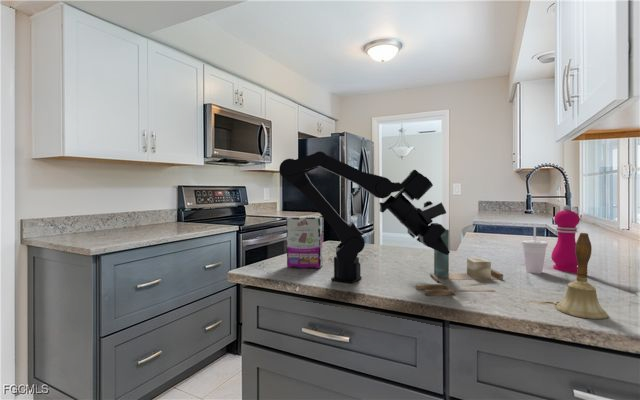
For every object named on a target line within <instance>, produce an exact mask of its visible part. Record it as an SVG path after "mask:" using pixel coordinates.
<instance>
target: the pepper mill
mask: <svg viewBox="0 0 640 400" xmlns="http://www.w3.org/2000/svg"><path fill="white" fill-rule="evenodd" d="M562 209H563V210H559V211H558V212H556V213H555V215H554V217H553V218H554V219H553V220H554V223H555V224H556V225H557V226H555V227H556V230H555V231H556V232H557V240H556V243H555V246H554V248H553V250H552V251H551V257H550V258H551V260H552V261H553V263H554V264H553V265H552V268H553V270H556V271H559V272H560V271H561V272H565V273H566V272H568V273H571V274H575V275H577V269H578V262H577V258H576V254H575V246H576V242H577V241H576V233H578V230H577V229H578V227H577V226H578V224H580V216H579V214H578V213H576V212H575V211H573V210H571V206H570V205H569V204H566V205H564V206H563V207H562Z"/></svg>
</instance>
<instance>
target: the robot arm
mask: <svg viewBox="0 0 640 400" xmlns="http://www.w3.org/2000/svg"><path fill="white" fill-rule="evenodd" d="M317 168H318V169H319V168H322V169H323V170H326V171H328V172H331V173H333V174H335V175H337V176H338V177H339V176H340V177H341V178H344V179H346V180H348V181H350V182H352V183H354V184H356V185H358V186H359V187H360V188H361V189H363V190H364V191H365V192H367V193H368V194H370V195H371V196H373V197H374V198H377V199H386V198H387V199H386V200H385V201H384V202H378V205H379V212H380V213H385V211H387V210H388V211H389V212H390V213H391V214H392V215H393V216H394V217H395V218H396V219H397V220H398V222H399V223H401V225H403V226H404V227H405V228H406V229H407V234H408V235H409V236H410V237H412V238H413V239H415V238H416V241H417V242H419V243H421V244H423V245H424V246H425V247H427V248H429V249H433V250H434V249H435V250H437V251H439V252H441V253H444V254H446V255H448V254H449V255H450V253H451V252H450V249H449V250H448V248H447V246H446V245H445V243H444V242H443V240H442V238H441V235H442V234H443V233H444V232H445V231H446V229H447V228H445V227H444V226H443V225H442V224H441V223H438V222H434V221H433V219H435V218H437V217H440V216H442V215H443V216H444V215H445V214H447V211H446V208H445V207H444V204H443V202H442V201H434V202H431V201H430V200H427V201H425V202H423V207H422V208H420V207H417V206H415V205H414V204H413V203H412V202H413V201H414V200H415V201H419V200H420V199H421V198H422V197H424V195H425V194H426V193H427V192H429V190H431V188H433V186H434V185H433V183H432V182H431V180H430V179H429V178H428V177H427V176H424V175H423V174H422V173H420V172H419V171H418V170H416V169H413V170H412V171H410V172H409V174H408V175H407V176H406V177H405V178H404V179H403V180H402V181H401V183H400V182H399V181H398V182H392V181H391V180H390V179H389V178H387V177H385V176H381V175H378V174H373V173H368V172H365V171H362V170H359V169H357V168H356V167H354V166H352V165H349V164H347V163H346V162H342V161H341V160H338V159H337V158H334V157H332V156H330V155H328V154H326V153H325V152H324V151H320V150H319V151H317V152H314V153H311V154H309V155H305V156H303V157H299V158H296V159H294V158H286V159H284V160H283V161H282V162H281V163H280V164H279V171H278V172H279V174H280V176H281V177H282V178H283V179H284V180H286V181H287V182H288V183H290V185H292V186H293V187H294V188H295V189H297V190H298V191H300V192H301V193H302V194H303V196H304V197H305V198H306V199H307V200H308V201H309V202H310V204H311V205H312V206H313V207H314V208H315V210H316V211H317V212H318V214H320V215H321V216H322V218H323V219H324V220H325V221H326V222H327V223H328V225H330V227H331V228H332V229H333V231H334V233H335V234H336V236H337V238H338V240H339V241H340V243H339V244H338V245H337V246H336V247H335V255H336V256H334V257H333V276H332V277H331V278H330V279H331V281H333V282H334V281H335V282H341V283H349V284H353V283H355V282H357V281H359V280H361V279H362V278H363V277H362V276H361V263H360V257H359V256H358V255H359V253H361V252H363V250H364V248H365V244H366V243H365V238H364V237H363V236H364V232H362V230H360V229H359V228H357V226H356V224H355V223H354V221H353V220H352V221H351V222H350V223H348V222H347V221H345V220H344V219H343V218H342V217H341V215H340V214H338V212H337V210H335V209H334V208H333V206H332V205H331V204H330V202H328V201H327V200H326V198H325V197H324V196H323V195H322V194H321V192H320V191H319V190H318V189H317V188H316V186H314V184H313V183H312V182H311V179H310V178H309V176H308V174H307V173H308V172H311V171H313V170H315V169H317ZM396 192H397V193H396ZM392 193H396V195H394V196H393V195H392ZM410 200H411V201H412V202H411V201H410Z"/></svg>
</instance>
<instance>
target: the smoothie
mask: <svg viewBox="0 0 640 400" xmlns="http://www.w3.org/2000/svg"><path fill="white" fill-rule="evenodd" d="M521 245H522V251H523V259H524V266H525V272H527V273H530V274H531V273H532V274H542V273H543V267H544V263H545V258H546V250H547V247H548V242H547V241H544V240H537V227H536V226H533V239H525V240H521Z"/></svg>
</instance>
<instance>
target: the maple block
mask: <svg viewBox="0 0 640 400" xmlns="http://www.w3.org/2000/svg"><path fill="white" fill-rule="evenodd" d="M491 269H492V262H491V261H490V260H488V259H486V258H482V257H481V258H479V257H477V258H476V257H475V258H472V257H471V258H466V273H467V275H469V276H470V277H472V278H473V279H491Z"/></svg>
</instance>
